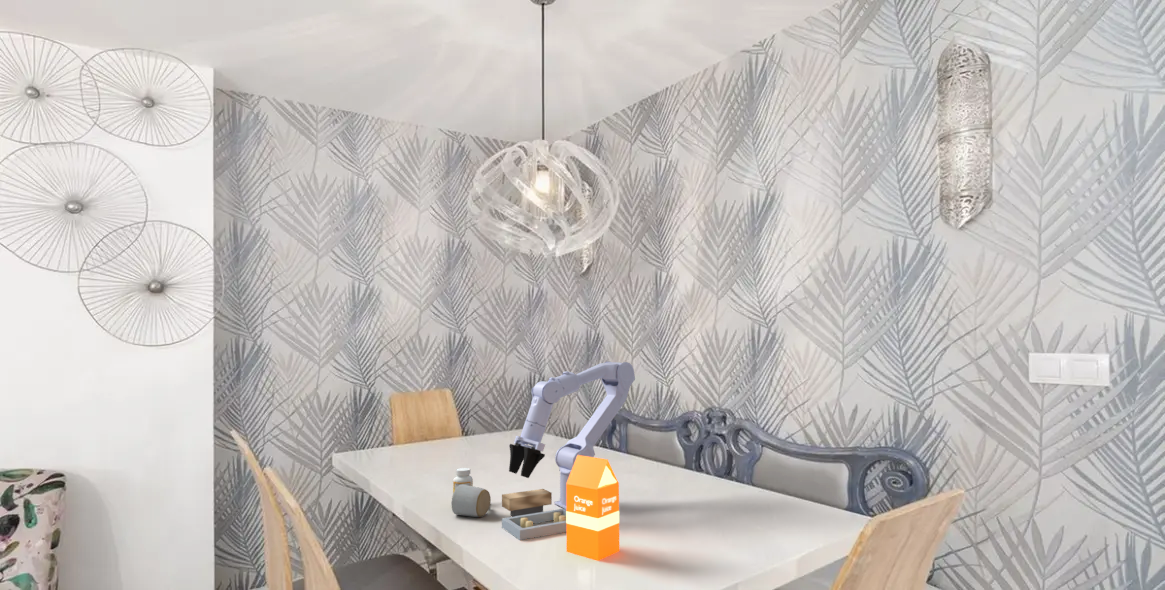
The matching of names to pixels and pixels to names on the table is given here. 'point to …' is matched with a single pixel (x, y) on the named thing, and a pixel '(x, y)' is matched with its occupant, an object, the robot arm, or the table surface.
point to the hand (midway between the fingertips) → (518, 474)
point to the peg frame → (527, 522)
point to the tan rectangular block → (526, 499)
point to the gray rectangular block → (526, 511)
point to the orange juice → (592, 509)
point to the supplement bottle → (462, 478)
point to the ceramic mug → (470, 501)
